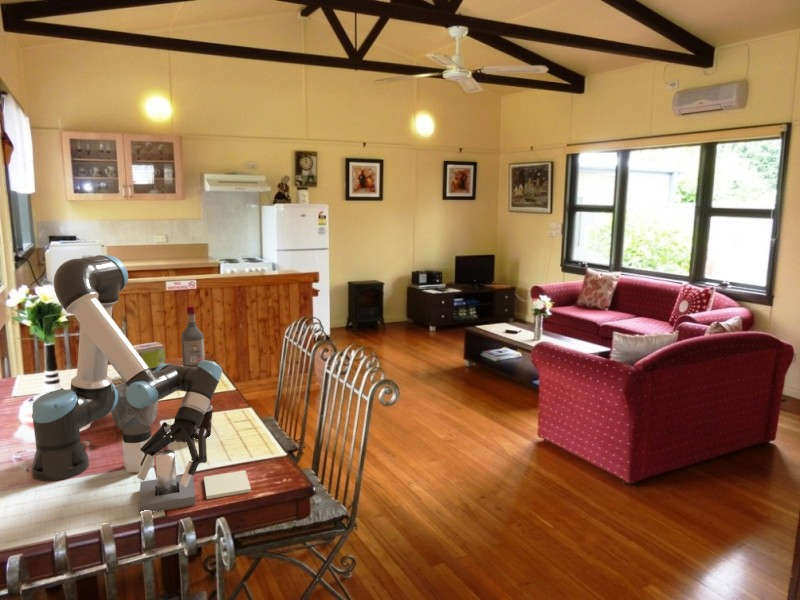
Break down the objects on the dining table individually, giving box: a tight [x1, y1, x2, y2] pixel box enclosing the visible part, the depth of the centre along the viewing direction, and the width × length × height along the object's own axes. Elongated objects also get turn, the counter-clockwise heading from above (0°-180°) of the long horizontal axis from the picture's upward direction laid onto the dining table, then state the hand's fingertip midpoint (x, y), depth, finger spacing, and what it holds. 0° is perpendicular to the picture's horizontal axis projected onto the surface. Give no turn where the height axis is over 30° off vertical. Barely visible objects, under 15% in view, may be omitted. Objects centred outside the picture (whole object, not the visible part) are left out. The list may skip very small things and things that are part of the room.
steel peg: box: [154, 449, 178, 496], centre depth 163 cm, size 5×5×13 cm
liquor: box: [180, 305, 206, 367], centre depth 283 cm, size 9×9×30 cm
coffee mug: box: [193, 404, 214, 440], centre depth 206 cm, size 12×9×10 cm
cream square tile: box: [203, 469, 252, 500], centre depth 171 cm, size 12×12×1 cm
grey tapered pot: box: [110, 381, 159, 431], centre depth 212 cm, size 18×18×15 cm
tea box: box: [132, 341, 167, 373], centre depth 269 cm, size 15×10×15 cm, turn 130°
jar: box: [121, 425, 155, 473], centre depth 182 cm, size 9×8×12 cm
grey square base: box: [138, 474, 196, 514], centre depth 164 cm, size 14×14×2 cm
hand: (161, 482), depth 161 cm, fingers open, 13 cm apart
